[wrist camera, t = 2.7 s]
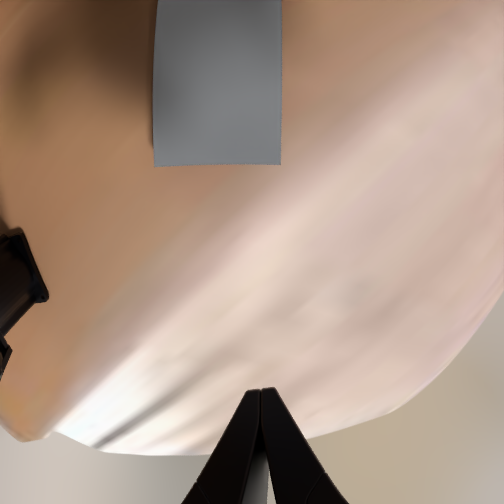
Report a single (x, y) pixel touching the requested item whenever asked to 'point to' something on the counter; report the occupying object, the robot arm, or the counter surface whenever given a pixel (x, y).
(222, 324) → the counter surface
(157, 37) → the slate tile
